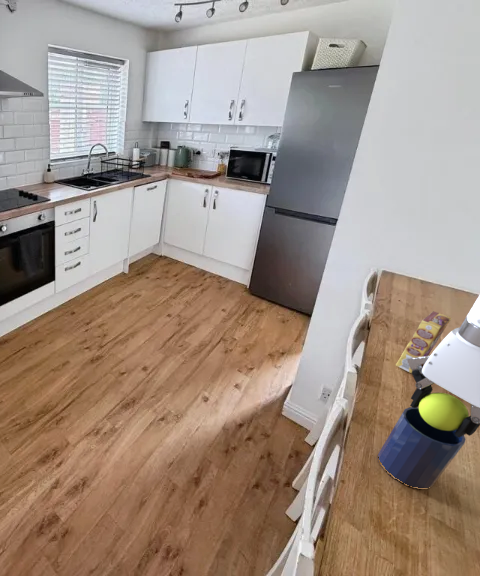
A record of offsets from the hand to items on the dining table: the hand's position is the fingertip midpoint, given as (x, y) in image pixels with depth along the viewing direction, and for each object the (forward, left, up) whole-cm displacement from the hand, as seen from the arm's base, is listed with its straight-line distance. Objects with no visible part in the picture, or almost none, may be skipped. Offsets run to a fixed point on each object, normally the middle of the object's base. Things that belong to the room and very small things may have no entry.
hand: (438, 418), depth 66 cm
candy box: (+20, -37, -14) cm, 44 cm away
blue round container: (0, 0, -14) cm, 14 cm away
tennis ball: (0, 0, -2) cm, 2 cm away
